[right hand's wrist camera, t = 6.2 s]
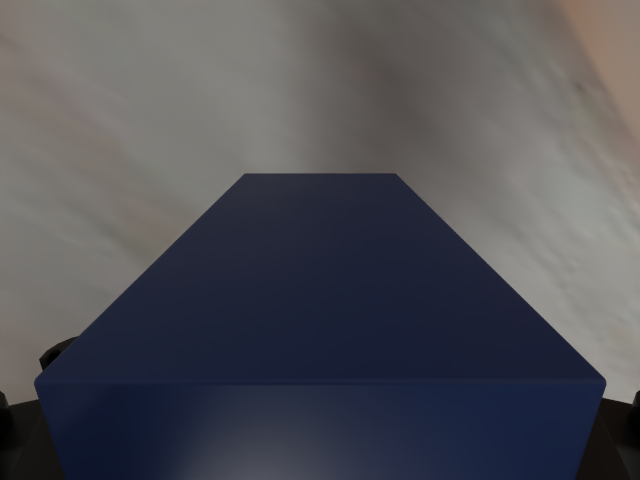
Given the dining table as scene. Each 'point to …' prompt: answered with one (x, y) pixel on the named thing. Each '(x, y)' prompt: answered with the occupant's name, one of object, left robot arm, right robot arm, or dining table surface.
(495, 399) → the box
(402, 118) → the dining table surface
